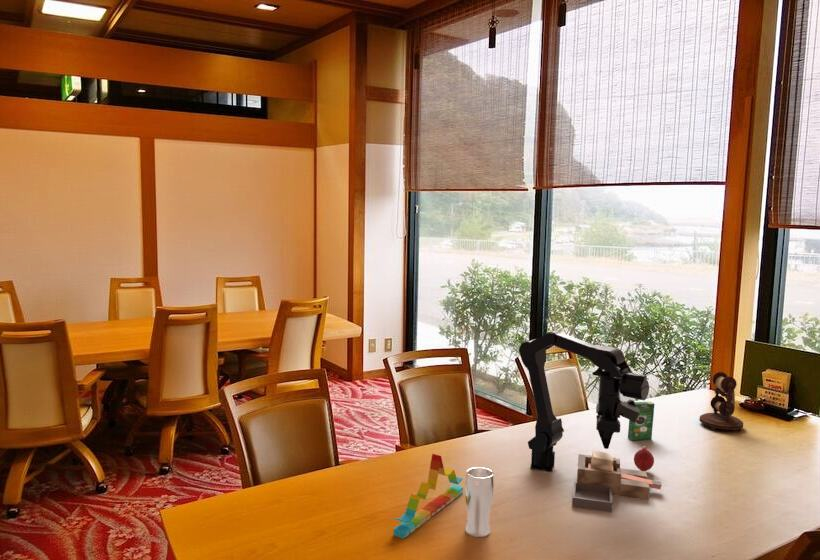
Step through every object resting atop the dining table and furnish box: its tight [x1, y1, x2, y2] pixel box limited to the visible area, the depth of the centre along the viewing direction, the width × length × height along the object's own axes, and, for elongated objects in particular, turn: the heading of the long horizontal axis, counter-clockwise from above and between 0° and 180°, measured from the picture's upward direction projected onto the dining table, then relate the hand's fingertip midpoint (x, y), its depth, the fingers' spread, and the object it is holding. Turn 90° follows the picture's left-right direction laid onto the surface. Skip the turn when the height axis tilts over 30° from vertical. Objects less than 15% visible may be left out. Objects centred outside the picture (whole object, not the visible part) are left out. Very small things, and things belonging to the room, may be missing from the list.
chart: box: [393, 453, 464, 540], centre depth 168 cm, size 30×3×15 cm, turn 148°
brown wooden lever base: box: [576, 453, 650, 501], centre depth 187 cm, size 19×12×6 cm, turn 74°
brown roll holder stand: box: [698, 371, 744, 432], centre depth 241 cm, size 15×15×20 cm
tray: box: [571, 481, 614, 513], centre depth 177 cm, size 10×10×3 cm
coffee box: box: [627, 401, 656, 441], centre depth 226 cm, size 8×3×13 cm, turn 103°
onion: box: [633, 445, 655, 472], centre depth 198 cm, size 6×6×8 cm
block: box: [590, 449, 614, 471], centre depth 187 cm, size 6×6×4 cm
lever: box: [588, 463, 663, 490], centre depth 186 cm, size 20×7×2 cm, turn 74°
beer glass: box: [464, 466, 495, 538], centre depth 159 cm, size 7×7×15 cm
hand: (606, 445), depth 186 cm, fingers open, 4 cm apart
